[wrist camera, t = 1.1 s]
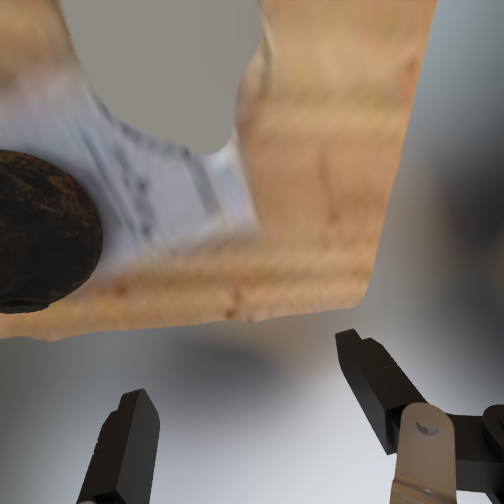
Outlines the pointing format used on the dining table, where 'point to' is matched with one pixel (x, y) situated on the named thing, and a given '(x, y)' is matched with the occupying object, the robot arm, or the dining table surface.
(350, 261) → the dining table surface
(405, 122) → the dining table surface
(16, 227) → the glass bottle
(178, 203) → the dining table surface
